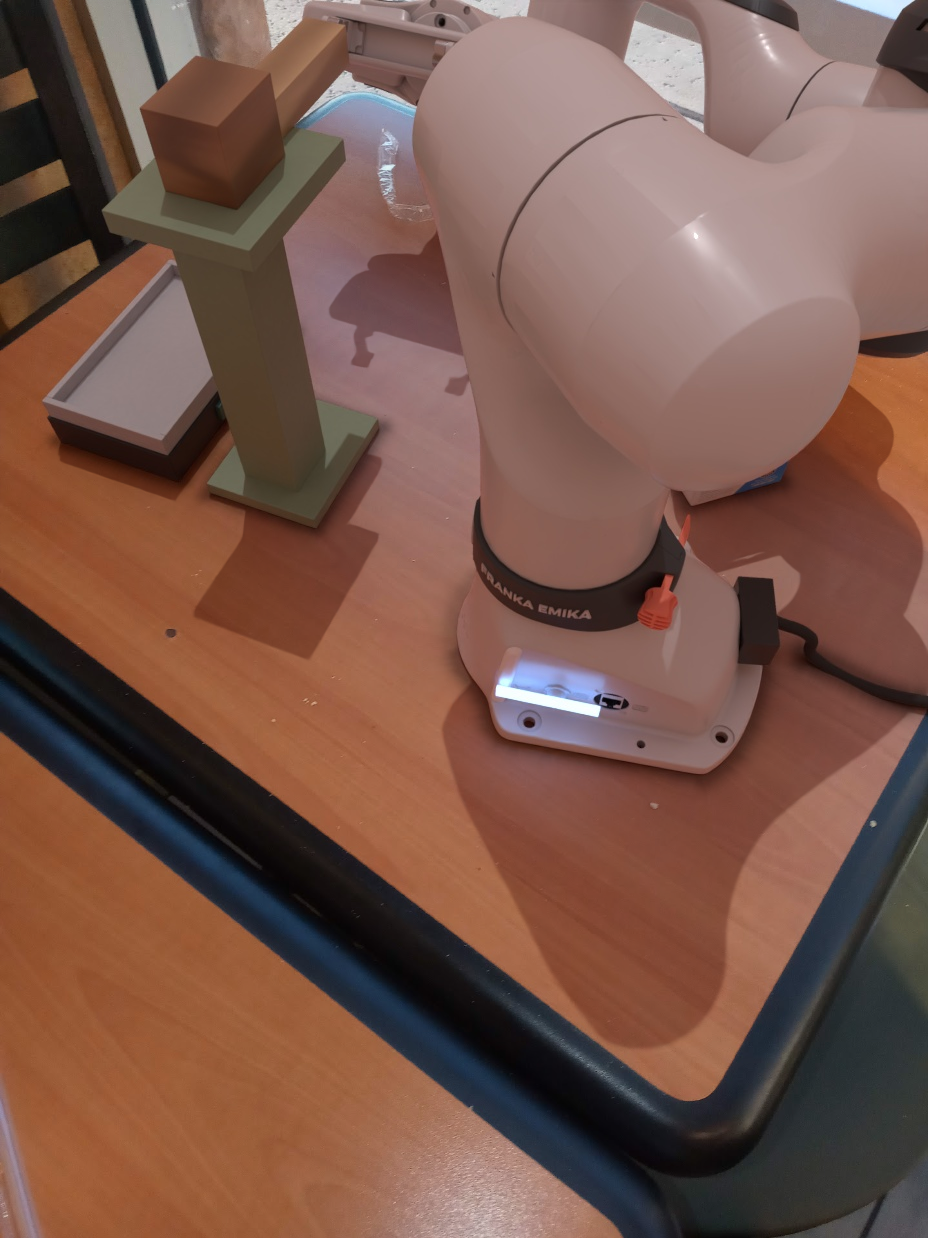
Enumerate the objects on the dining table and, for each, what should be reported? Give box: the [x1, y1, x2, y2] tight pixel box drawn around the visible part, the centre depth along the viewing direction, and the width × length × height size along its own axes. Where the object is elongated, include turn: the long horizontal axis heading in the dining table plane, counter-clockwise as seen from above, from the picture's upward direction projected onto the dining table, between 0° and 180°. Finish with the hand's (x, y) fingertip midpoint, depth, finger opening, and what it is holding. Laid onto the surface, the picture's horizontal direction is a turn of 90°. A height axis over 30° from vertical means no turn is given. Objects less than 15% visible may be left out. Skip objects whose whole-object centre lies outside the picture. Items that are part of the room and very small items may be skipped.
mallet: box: [139, 17, 350, 210], centre depth 56 cm, size 5×17×5 cm, turn 157°
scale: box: [41, 259, 227, 483], centre depth 80 cm, size 12×20×5 cm, turn 157°
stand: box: [101, 126, 380, 530], centre depth 67 cm, size 10×12×26 cm
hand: (384, 41), depth 68 cm, fingers open, 8 cm apart
